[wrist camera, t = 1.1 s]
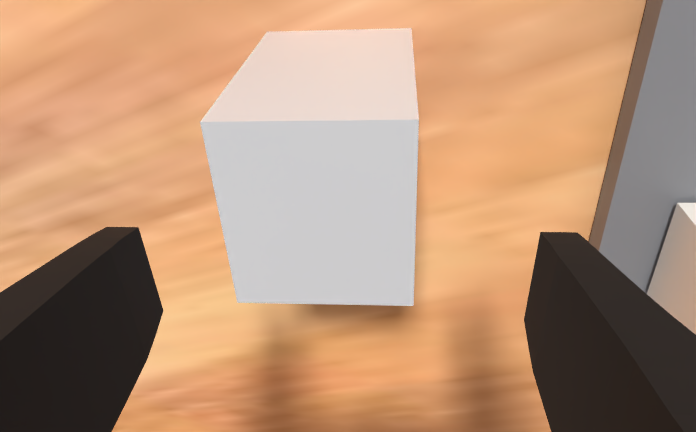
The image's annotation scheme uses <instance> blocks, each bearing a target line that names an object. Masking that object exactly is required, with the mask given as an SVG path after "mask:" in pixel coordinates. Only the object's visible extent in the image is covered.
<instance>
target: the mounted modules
mask: <svg viewBox="0 0 696 432" xmlns="http://www.w3.org/2000/svg"><path fill="white" fill-rule="evenodd" d="M647 295H648V296H650V297H651V298H652V299H653V300H654V301H655V302H657V303H658V304H659V305H660V306H661V307H662V308H664V309H665V310H666V311H667V312H668V313H670V314H671V315H672V316H673V317H674V318H676V319H677V320H678V321H679V322H681V323H682V324H683V325H684V326H686V327H687V328H688V329H689V330H690V331H692V332H693V333H694V334H696V203H677V205H676V208H675V211H674V214H673V217H672V220H671V223H670V226H669V229H668V232H667V235H666V238H665V241H664V244H663V247H662V250H661V253H660V256H659V259H658V262H657V265H656V268H655V271H654V274H653V277H652V280H651V283H650V286H649V289H648V292H647Z"/></svg>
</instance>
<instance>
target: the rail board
mask: <svg viewBox="0 0 696 432" xmlns="http://www.w3.org/2000/svg"><path fill="white" fill-rule="evenodd" d="M677 203H696V0H647V3H646V7H645V11H644V16H643V20H642V24H641V28H640V32H639V36H638V40H637V45H636V49H635V53H634V57H633V61H632V65H631V69H630V74H629V78H628V82H627V86H626V90H625V94H624V98H623V103H622V107H621V111H620V115H619V119H618V123H617V127H616V132H615V136H614V140H613V144H612V148H611V152H610V156H609V161H608V165H607V169H606V173H605V177H604V181H603V185H602V190H601V194H600V198H599V202H598V206H597V210H596V214H595V219H594V223H593V227H592V231H591V235H590V239H589V243H590V244H591V245H592V246H593V247H595V248H596V249H597V250H598V251H599V252H600V253H601V254H602V255H603V256H605V257H606V258H607V259H608V260H609V261H610V262H611V263H612V264H613V265H614V266H616V267H617V268H618V269H619V270H620V271H621V272H622V273H623V274H625V275H626V276H627V277H628V278H629V279H630V280H631V281H632V282H634V283H635V284H636V285H637V286H638V287H639V288H640V289H641V290H643V291H644V292H645V293H646V294H647V292H648V289H649V286H650V283H651V280H652V277H653V274H654V271H655V268H656V265H657V262H658V259H659V256H660V253H661V250H662V247H663V244H664V241H665V238H666V235H667V232H668V229H669V226H670V223H671V220H672V217H673V214H674V211H675V208H676V205H677Z"/></svg>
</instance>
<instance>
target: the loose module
mask: <svg viewBox="0 0 696 432" xmlns="http://www.w3.org/2000/svg"><path fill="white" fill-rule="evenodd" d="M200 124H201V128H202V133H203V138H204V143H205V148H206V153H207V157H208V162H209V167H210V172H211V177H212V182H213V186H214V191H215V196H216V201H217V206H218V211H219V215H220V220H221V225H222V230H223V235H224V240H225V244H226V249H227V254H228V259H229V264H230V269H231V273H232V278H233V283H234V288H235V293H236V298H237V302H238V303H284V304H338V305H392V306H414V271H415V235H416V200H417V164H418V128H419V116H418V104H417V91H416V79H415V66H414V54H413V41H412V29H411V28H395V29H356V30H317V31H278V32H267V33H266V34H265V35H264V37H263V38H262V39H261V41H260V42H259V43H258V45H257V46H256V47H255V49H254V50H253V51H252V53H251V54H250V55H249V57H248V58H247V60H246V61H245V62H244V64H243V65H242V66H241V68H240V69H239V70H238V72H237V73H236V74H235V76H234V77H233V78H232V80H231V81H230V82H229V84H228V85H227V86H226V88H225V89H224V91H223V92H222V93H221V95H220V96H219V97H218V99H217V100H216V101H215V103H214V104H213V105H212V107H211V108H210V109H209V111H208V112H207V113H206V115H205V116H204V117H203V119H202V120H201V122H200Z"/></svg>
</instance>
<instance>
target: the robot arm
mask: <svg viewBox="0 0 696 432" xmlns="http://www.w3.org/2000/svg"><path fill="white" fill-rule="evenodd" d="M162 313H163V308H162V305H161V301H160V298H159V295H158V291H157V288H156V285H155V281H154V278H153V275H152V271H151V268H150V265H149V261H148V258H147V255H146V251H145V248H144V245H143V241H142V238H141V235H140V231H139V228H138V227H106V228H104V229H102V230H100V231H98V232H96V233H95V234H93V235H91V236H89V237H88V238H86V239H84V240H83V241H81V242H79V243H78V244H76V245H74V246H73V247H71V248H70V249H68V250H66V251H65V252H63V253H62V254H60V255H59V256H57V257H55V258H54V259H52V260H51V261H49V262H48V263H46V264H45V265H43V266H41V267H40V268H38V269H37V270H35V271H34V272H32V273H30V274H29V275H27V276H26V277H24V278H23V279H21V280H19V281H18V282H16V283H15V284H13V285H11V286H10V287H8V288H7V289H5V290H4V291H2V292H0V432H112V430H113V428H114V426H115V424H116V422H117V420H118V418H119V416H120V414H121V412H122V410H123V408H124V406H125V404H126V402H127V400H128V398H129V396H130V394H131V391H132V389H133V387H134V385H135V383H136V381H137V379H138V377H139V375H140V373H141V371H142V369H143V367H144V365H145V363H146V360H147V358H148V355H149V353H150V350H151V347H152V344H153V341H154V338H155V335H156V332H157V329H158V326H159V323H160V319H161V316H162ZM524 322H525V328H526V334H527V340H528V346H529V352H530V357H531V363H532V368H533V373H534V376H535V380H536V383H537V386H538V390H539V393H540V396H541V399H542V403H543V406H544V409H545V412H546V416H547V419H548V422H549V425H550V429H551V432H696V334H694V333H693V332H692V331H690V330H689V329H688V328H687V327H686V326H684V325H683V324H682V323H681V322H679V321H678V320H677V319H676V318H674V317H673V316H672V315H671V314H670V313H668V312H667V311H666V310H665V309H664V308H662V307H661V306H660V305H659V304H658V303H657V302H655V301H654V300H653V299H652V298H651V297H650V296H648V295H647V294H646V293H645V292H644V291H643V290H641V289H640V288H639V287H638V286H637V285H636V284H635V283H634V282H632V281H631V280H630V279H629V278H628V277H627V276H626V275H625V274H623V273H622V272H621V271H620V270H619V269H618V268H617V267H616V266H614V265H613V264H612V263H611V262H610V261H609V260H608V259H607V258H606V257H605V256H603V255H602V254H601V253H600V252H599V251H598V250H597V249H596V248H595V247H593V246H592V245H591V244H590V243H589V242H588V241H587V240H585V239H584V238H583V237H582V236H581V235H579V234H578V233H570V232H541V233H540V238H539V243H538V249H537V254H536V259H535V265H534V270H533V275H532V280H531V286H530V291H529V296H528V302H527V307H526V312H525V317H524Z"/></svg>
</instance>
